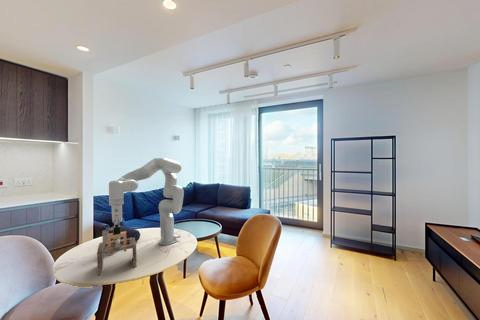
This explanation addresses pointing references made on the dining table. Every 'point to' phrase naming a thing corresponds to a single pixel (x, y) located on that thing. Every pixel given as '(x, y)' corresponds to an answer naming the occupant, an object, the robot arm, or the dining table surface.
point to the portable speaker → (130, 233)
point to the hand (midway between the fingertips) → (117, 232)
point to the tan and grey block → (111, 235)
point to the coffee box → (105, 238)
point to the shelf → (117, 247)
